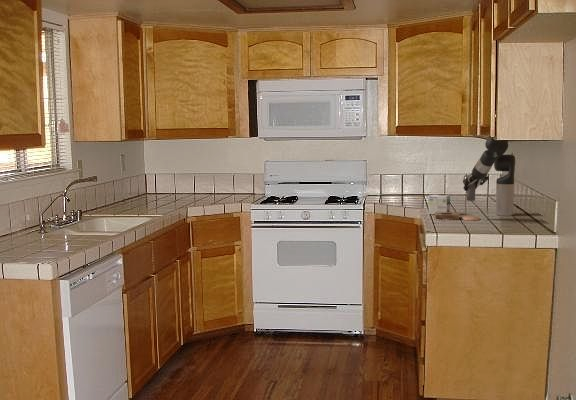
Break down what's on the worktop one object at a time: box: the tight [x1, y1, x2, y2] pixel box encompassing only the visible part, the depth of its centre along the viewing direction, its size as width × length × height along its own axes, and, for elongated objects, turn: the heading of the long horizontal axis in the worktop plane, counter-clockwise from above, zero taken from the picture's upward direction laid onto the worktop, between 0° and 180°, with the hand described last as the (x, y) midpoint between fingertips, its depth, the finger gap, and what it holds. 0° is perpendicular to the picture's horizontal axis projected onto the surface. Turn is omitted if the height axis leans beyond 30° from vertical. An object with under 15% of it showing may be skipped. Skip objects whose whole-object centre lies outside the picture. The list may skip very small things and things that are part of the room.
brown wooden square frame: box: [434, 211, 460, 221], centre depth 340 cm, size 12×12×2 cm
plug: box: [466, 174, 476, 202], centre depth 333 cm, size 5×5×13 cm
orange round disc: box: [461, 216, 480, 222], centre depth 335 cm, size 9×9×1 cm
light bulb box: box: [428, 194, 451, 215], centre depth 356 cm, size 11×7×11 cm, turn 59°
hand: (468, 189), depth 335 cm, fingers closed on plug, 4 cm apart
